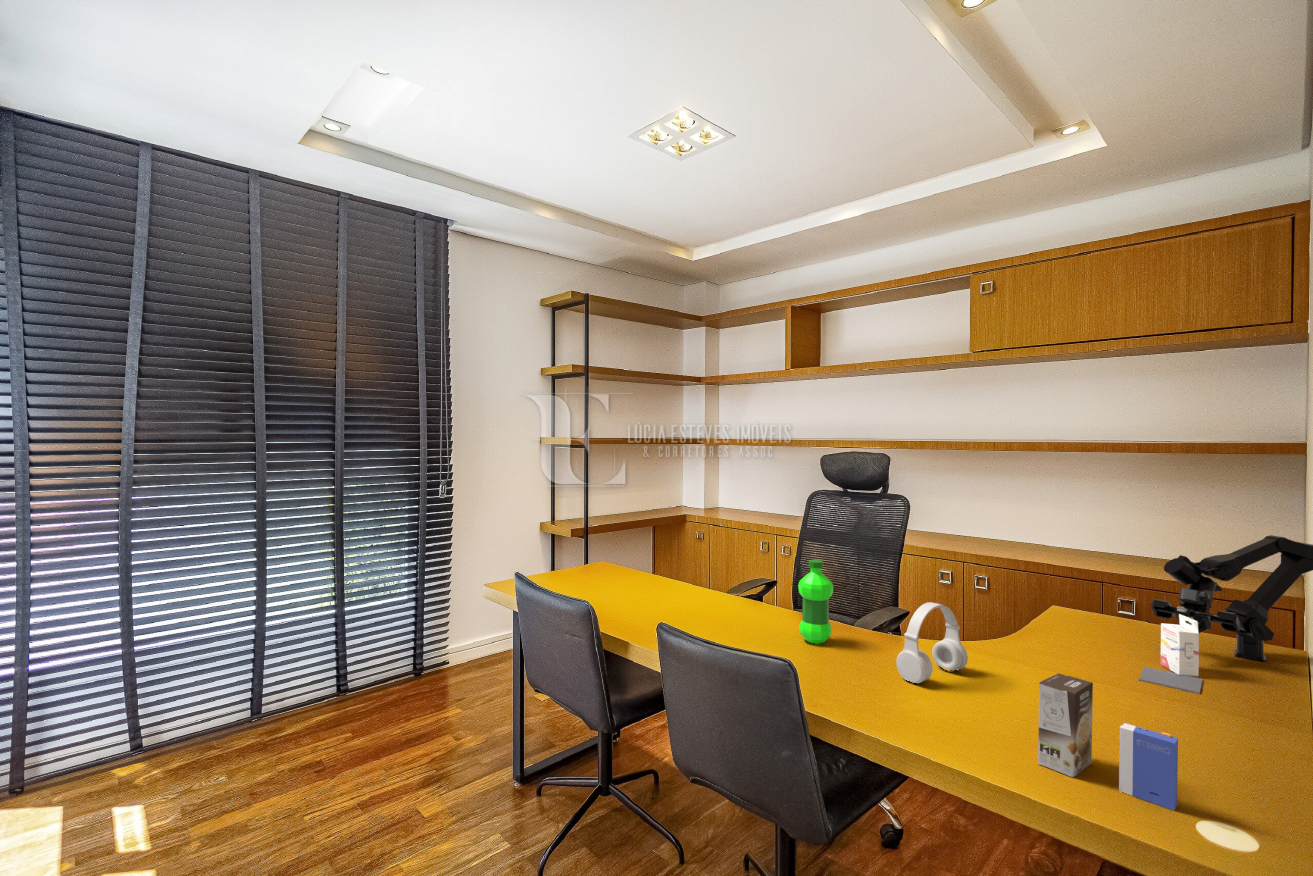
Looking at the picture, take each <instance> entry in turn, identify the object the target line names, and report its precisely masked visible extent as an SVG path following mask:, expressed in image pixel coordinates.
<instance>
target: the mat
mask: <svg viewBox="0 0 1313 876" xmlns="http://www.w3.org/2000/svg"><path fill="white" fill-rule="evenodd" d="M1138 681H1140V682H1145V683H1149V684H1154V685H1158V686H1163V687H1166V688H1167V687H1168V688H1171V689H1175V690H1181V691H1184V692H1188V693H1192V694H1198V695H1200V693H1201V689H1202V684H1203V678H1201V677H1197V676H1188V675H1178V674H1177V673H1175V672H1173V671H1167V670H1163V669H1158V668H1152V667H1148V666H1144V667H1143V669H1142V671H1141V673H1140V676H1139V677H1138Z"/></svg>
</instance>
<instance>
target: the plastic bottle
mask: <svg viewBox="0 0 1313 876" xmlns="http://www.w3.org/2000/svg"><path fill="white" fill-rule="evenodd" d="M808 567H809V569H810V572H809V573H807V574H806V575H804V577H802V579H799V582H798V584H797V587H798V593H799V594H800V596H801V598H802V606H801V607H802V608H801V609H802V610H801V611H802V618H801V619H802V620H801V621H800V623H799V625H798V630H799V634H800V635H801V636H802V637H803V638H804V640H806V642H807V641H808V642H811V643H810V644H812V643H823V642H824V643H825V642H826V641H827V640H828V639H829V638H830V637H831V635H832V633H833V626H832V624H831V623H830V615H829V614H830V612H829V611H830V598H831V597H832V596H833V593H834V584H833V581H831V580H830V579H829V578H828V577H827V576H826V575H825V574H824V573H823V572H822V569H823V568H824V561H823V560H819V559H810V560H808ZM824 643H823V644H824Z"/></svg>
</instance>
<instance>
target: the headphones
mask: <svg viewBox="0 0 1313 876" xmlns="http://www.w3.org/2000/svg"><path fill="white" fill-rule="evenodd" d="M935 609H940V611H941V613H942V614H943V616H944V621H945V627H946V628H945V634H944V638H943V639H942V640H940V641H937V642H936V643H935V644H933V647H932V651H931V652H932V653H931V654H932V658H933V661H934V663H935V664H936V666H938V667H939V666H940V667H942V668H946V669H949V670H952V671H951V672H955V671H954V670H957V669H961V670H962V669H964V668H965V667H966V666H967V664H968V660H969V656H968V652H967V650H966V648H965V647H964V645H963V644H962V642H961V638H960V637H961V636H960V633H959V632H960V631H959V630H960V629H961V626H960V625H958V624H959V623H958V621H957V618H956V615H955V613H954V612H953V611H952V610H951V608H949V607H948V606H946V605H944V604H941V603H936V602H932V601H930V602H925V603H923V604H922V605H920V606H919V607H918V608H916V610H915V611H914V613H913V615H912V616H911V618H910V621H909V623H908V627H907V629H906V632H905V633H904V634H903V636H904V638H905V639H904V646H903V649H902V651H901V652H899V653H898V655H897V657H896V661H895V663H896V668H897V671H898V673H899V675H900V676H901V677H902V679H904V681H906V680H907V681H910V682H913V683H917V684H920V683H923V682H924V681H927V680H929V679H930V678H931V676H932V674H933V670H934V669H933V664H932V663H933V662H932V661H931V659H930V657H929V656H928V654H927V653H926V652H925V651H923V650H921V649H920V648H919V639H920V636H919V633H920V631H921V628H922V625H923V623H924V621H925V619H926V617H928V615H929V613H930V612H932V611H934V610H935ZM940 667H939V668H940ZM907 681H906V682H907ZM913 683H912V684H913Z"/></svg>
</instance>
